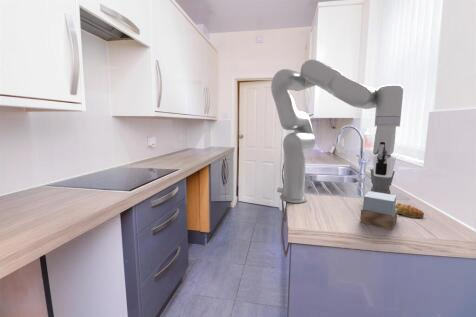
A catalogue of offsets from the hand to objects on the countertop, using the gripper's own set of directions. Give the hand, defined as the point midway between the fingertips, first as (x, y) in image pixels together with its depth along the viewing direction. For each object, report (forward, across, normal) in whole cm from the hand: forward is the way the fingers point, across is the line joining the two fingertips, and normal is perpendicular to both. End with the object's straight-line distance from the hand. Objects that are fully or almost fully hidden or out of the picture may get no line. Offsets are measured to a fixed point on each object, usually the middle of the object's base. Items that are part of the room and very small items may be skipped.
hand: (382, 172), depth 85 cm
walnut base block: (+19, 0, 0) cm, 19 cm away
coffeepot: (+18, -27, -5) cm, 33 cm away
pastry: (+19, -17, +7) cm, 26 cm away
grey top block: (+14, 0, 0) cm, 14 cm away
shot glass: (+1, 0, 0) cm, 1 cm away
